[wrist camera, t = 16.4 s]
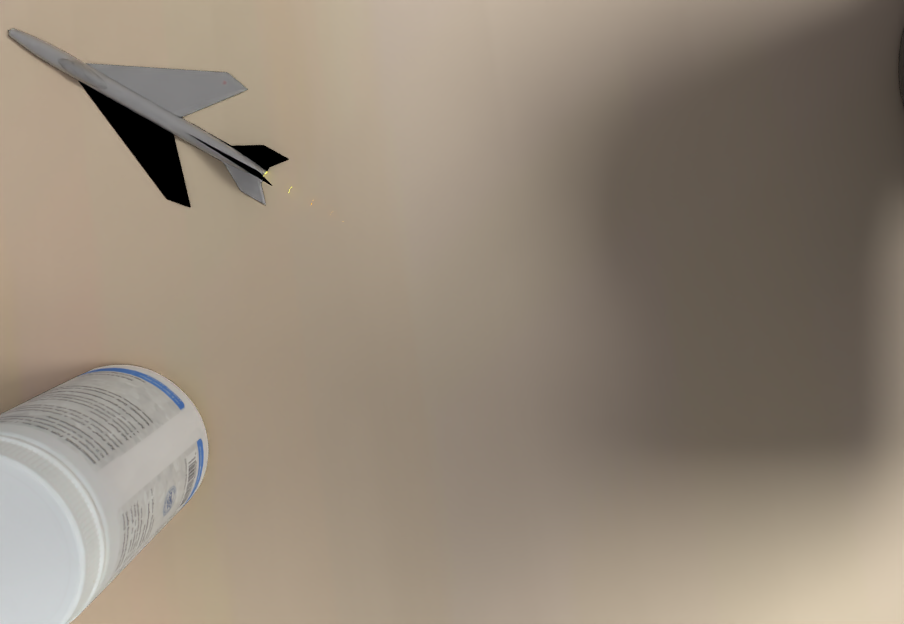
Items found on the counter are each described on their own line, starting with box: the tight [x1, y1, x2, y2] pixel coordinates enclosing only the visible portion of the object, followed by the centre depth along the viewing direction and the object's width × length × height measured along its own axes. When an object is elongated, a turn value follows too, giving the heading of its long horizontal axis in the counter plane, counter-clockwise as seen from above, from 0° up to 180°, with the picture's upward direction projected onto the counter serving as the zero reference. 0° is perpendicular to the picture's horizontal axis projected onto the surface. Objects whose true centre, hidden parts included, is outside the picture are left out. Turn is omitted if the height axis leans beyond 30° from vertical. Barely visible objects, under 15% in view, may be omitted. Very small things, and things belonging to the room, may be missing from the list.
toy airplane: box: [8, 28, 312, 207], centre depth 45 cm, size 8×21×2 cm, turn 61°
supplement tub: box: [0, 365, 209, 624], centre depth 42 cm, size 10×10×15 cm
